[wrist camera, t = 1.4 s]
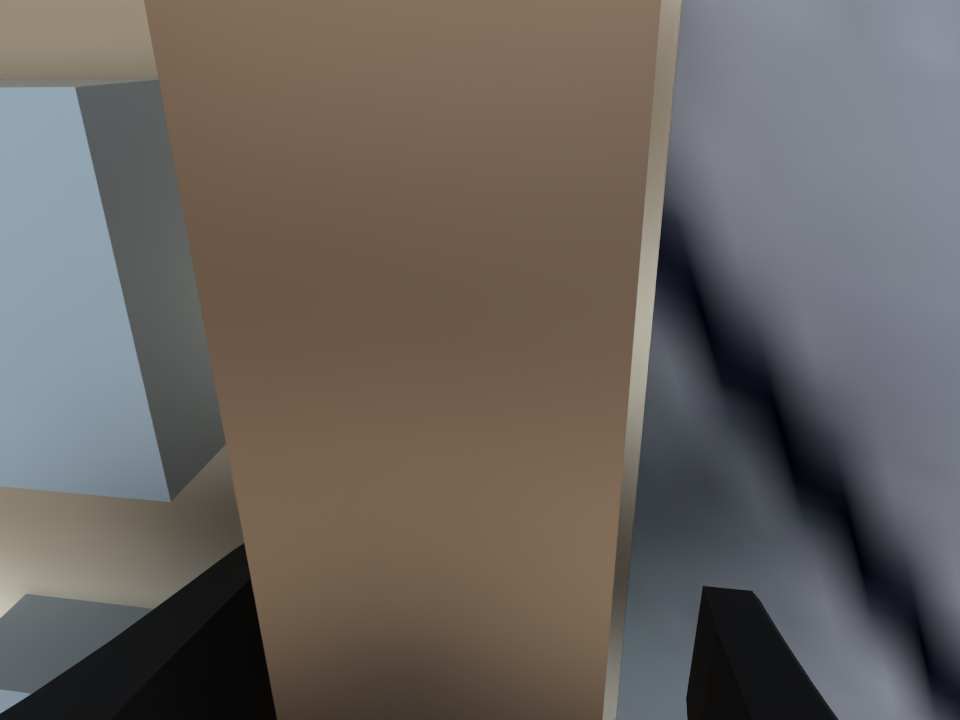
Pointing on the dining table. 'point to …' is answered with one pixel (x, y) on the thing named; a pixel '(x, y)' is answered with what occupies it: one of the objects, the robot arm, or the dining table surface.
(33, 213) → the near tile
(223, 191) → the scraper bar
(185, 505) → the birch plate
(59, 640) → the far tile
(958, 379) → the dining table surface
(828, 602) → the dining table surface
